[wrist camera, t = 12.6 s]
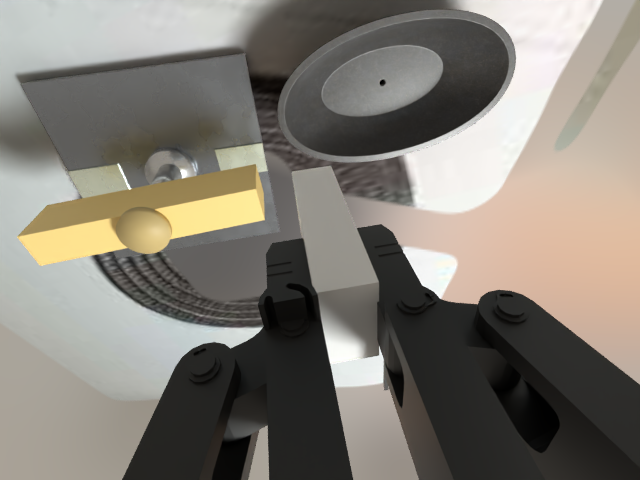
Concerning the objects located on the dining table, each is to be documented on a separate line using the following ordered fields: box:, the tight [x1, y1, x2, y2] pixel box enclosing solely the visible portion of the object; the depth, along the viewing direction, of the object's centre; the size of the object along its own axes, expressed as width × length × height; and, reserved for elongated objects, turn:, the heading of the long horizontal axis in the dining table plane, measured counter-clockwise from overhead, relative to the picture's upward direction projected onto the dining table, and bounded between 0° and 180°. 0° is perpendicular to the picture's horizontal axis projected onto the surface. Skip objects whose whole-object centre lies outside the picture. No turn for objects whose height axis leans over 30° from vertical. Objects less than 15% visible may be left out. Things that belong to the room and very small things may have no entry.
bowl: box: [278, 9, 516, 162], centre depth 35 cm, size 12×22×6 cm, turn 102°
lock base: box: [21, 53, 280, 258], centre depth 36 cm, size 20×20×7 cm
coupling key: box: [17, 164, 265, 266], centre depth 31 cm, size 19×4×6 cm, turn 99°
